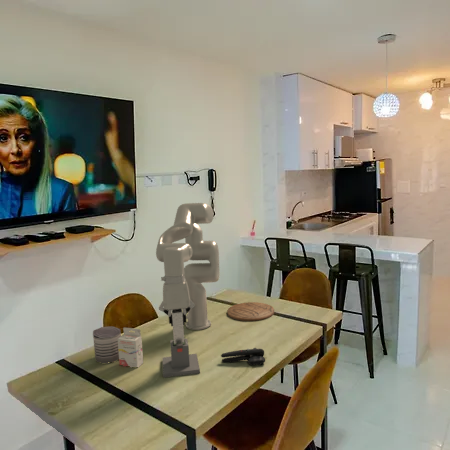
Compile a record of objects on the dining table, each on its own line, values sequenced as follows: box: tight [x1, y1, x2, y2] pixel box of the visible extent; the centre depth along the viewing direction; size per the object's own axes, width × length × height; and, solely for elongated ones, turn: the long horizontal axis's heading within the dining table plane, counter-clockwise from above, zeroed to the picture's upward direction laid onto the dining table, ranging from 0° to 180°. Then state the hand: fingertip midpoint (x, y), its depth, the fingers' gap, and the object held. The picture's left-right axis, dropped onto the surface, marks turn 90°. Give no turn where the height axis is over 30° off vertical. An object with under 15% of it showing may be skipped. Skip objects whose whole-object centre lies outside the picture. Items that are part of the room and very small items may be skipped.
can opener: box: [220, 347, 266, 366], centre depth 167 cm, size 18×7×6 cm, turn 84°
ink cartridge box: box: [118, 327, 144, 368], centre depth 168 cm, size 9×5×15 cm, turn 71°
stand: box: [162, 338, 201, 378], centre depth 164 cm, size 14×14×11 cm
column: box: [171, 309, 185, 346], centre depth 163 cm, size 4×4×17 cm
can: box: [92, 326, 122, 364], centre depth 176 cm, size 11×11×12 cm
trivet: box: [227, 301, 275, 322], centre depth 222 cm, size 25×25×2 cm
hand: (177, 324), depth 163 cm, fingers closed on column, 4 cm apart
